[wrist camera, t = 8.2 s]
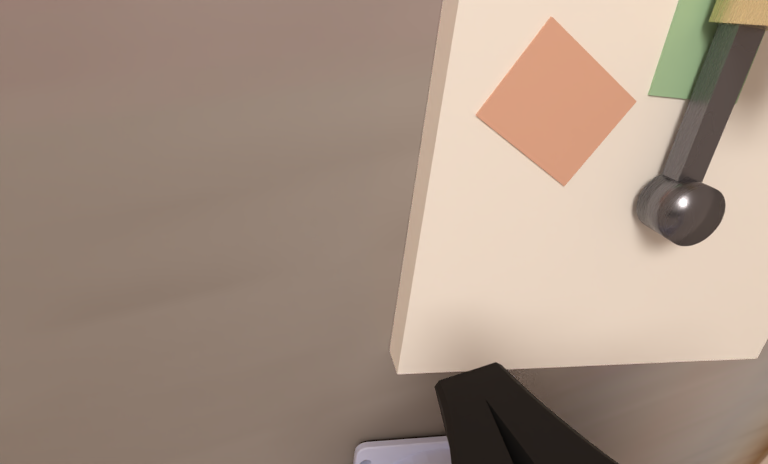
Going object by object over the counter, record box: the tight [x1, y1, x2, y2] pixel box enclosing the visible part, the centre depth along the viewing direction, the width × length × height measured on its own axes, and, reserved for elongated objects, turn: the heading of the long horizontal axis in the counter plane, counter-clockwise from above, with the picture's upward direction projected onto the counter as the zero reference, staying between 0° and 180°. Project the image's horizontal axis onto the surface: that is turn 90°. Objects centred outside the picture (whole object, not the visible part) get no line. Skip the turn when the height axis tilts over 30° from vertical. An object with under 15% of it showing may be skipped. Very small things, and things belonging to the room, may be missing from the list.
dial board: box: [389, 0, 768, 374], centre depth 19 cm, size 16×18×2 cm
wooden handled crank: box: [636, 0, 768, 246], centre depth 15 cm, size 9×2×5 cm, turn 172°
